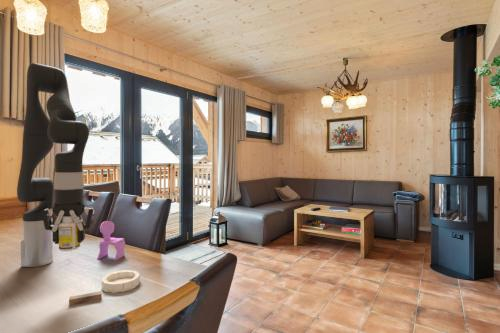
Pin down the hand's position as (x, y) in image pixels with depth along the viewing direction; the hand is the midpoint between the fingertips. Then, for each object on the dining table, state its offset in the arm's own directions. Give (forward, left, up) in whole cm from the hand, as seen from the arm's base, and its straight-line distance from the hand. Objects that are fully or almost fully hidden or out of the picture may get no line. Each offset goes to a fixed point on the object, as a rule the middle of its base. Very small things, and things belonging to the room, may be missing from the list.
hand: (69, 242), depth 88 cm
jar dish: (+14, +2, -15) cm, 21 cm away
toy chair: (+6, +31, -16) cm, 35 cm away
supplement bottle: (0, 0, -2) cm, 2 cm away
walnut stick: (+6, -7, -16) cm, 18 cm away
